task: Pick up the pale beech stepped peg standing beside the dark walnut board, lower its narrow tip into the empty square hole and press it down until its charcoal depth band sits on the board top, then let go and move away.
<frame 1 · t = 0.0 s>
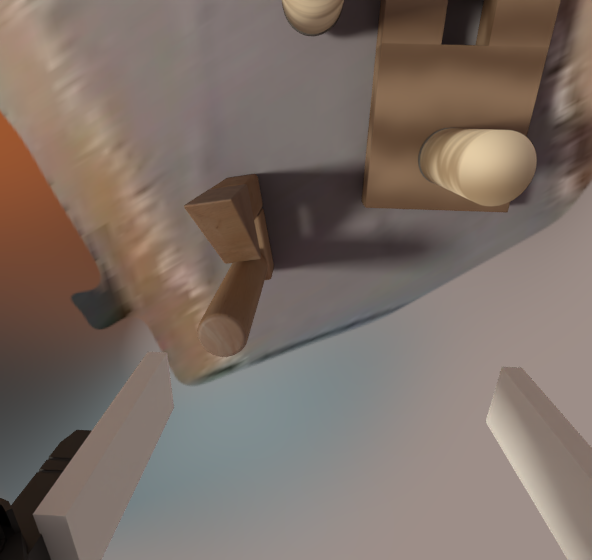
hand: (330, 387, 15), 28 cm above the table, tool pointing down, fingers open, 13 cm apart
walnut board: (446, 88, 35), on the table
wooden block: (250, 224, 41), on the table
beech peg: (312, 9, 33), on the table
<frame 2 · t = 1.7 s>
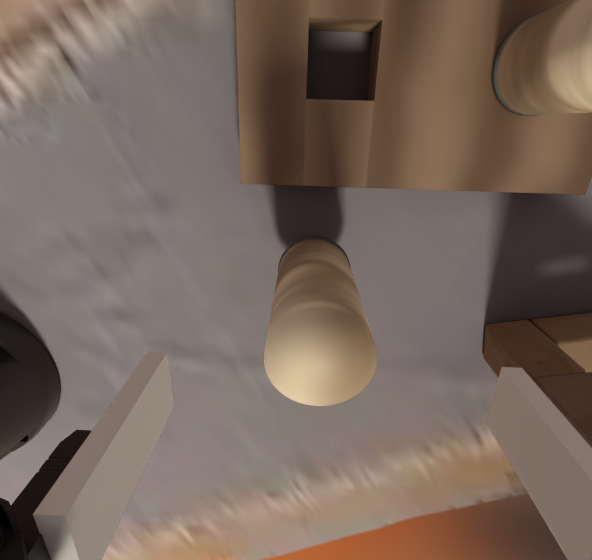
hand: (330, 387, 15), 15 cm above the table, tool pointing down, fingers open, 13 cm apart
walnut board: (416, 70, 24), on the table
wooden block: (547, 332, 31), on the table
beech peg: (313, 258, 29), on the table
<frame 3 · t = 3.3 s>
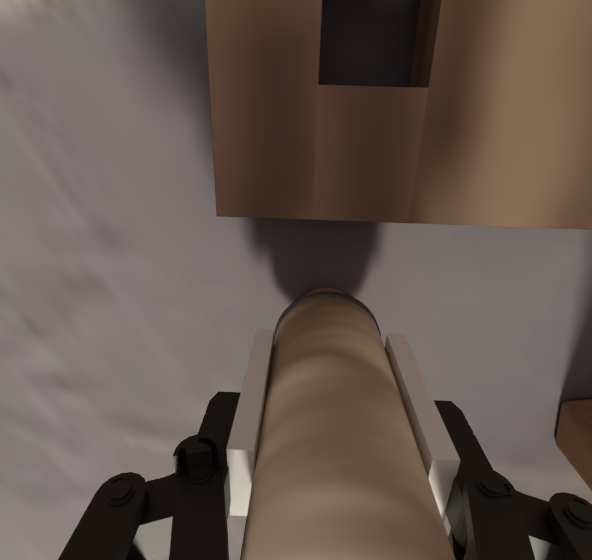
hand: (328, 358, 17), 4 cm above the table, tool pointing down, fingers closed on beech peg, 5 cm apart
walnut board: (487, 42, 15), on the table
beech peg: (324, 313, 21), on the table, touching gripper
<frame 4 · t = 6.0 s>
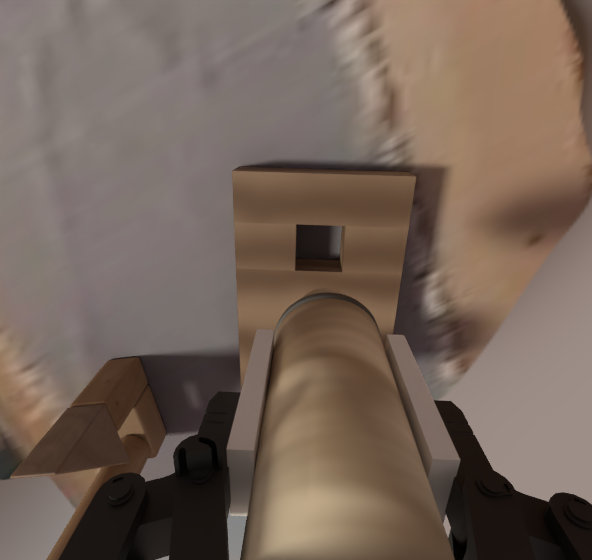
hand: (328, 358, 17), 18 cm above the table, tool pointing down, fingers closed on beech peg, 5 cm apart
walnut board: (316, 289, 35), on the table
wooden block: (139, 396, 41), on the table
beech peg: (324, 314, 21), point 14 cm above the table, touching gripper
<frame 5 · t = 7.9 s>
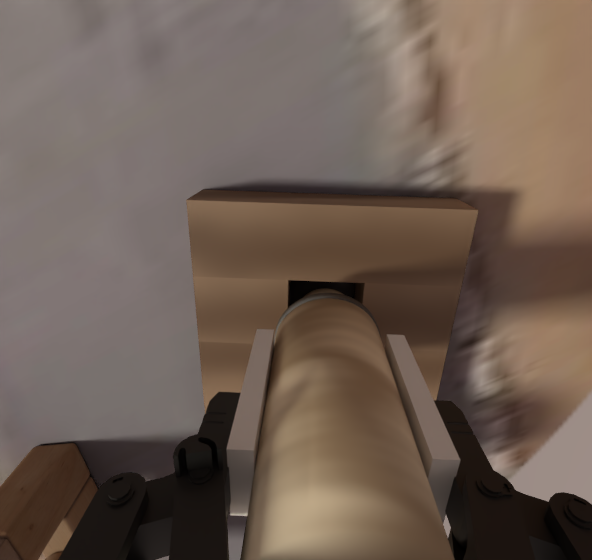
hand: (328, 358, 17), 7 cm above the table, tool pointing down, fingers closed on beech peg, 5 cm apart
walnut board: (318, 359, 25), on the table
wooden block: (81, 488, 31), on the table
beech peg: (324, 314, 21), point 3 cm above the table, touching gripper
when the fingers open (4 cm above the table, at t = 8.9 s): beech peg stays where it is, resting on walnut board.
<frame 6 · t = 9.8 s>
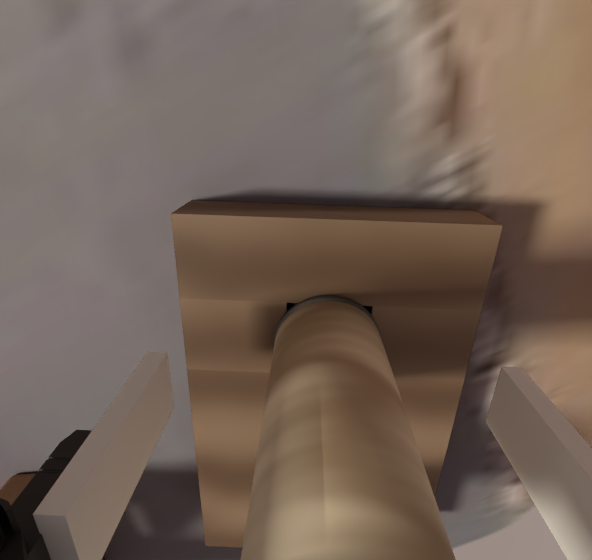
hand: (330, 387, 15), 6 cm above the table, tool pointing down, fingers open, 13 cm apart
walnut board: (319, 384, 23), on the table
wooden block: (64, 518, 29), on the table
beech peg: (325, 316, 20), resting on walnut board
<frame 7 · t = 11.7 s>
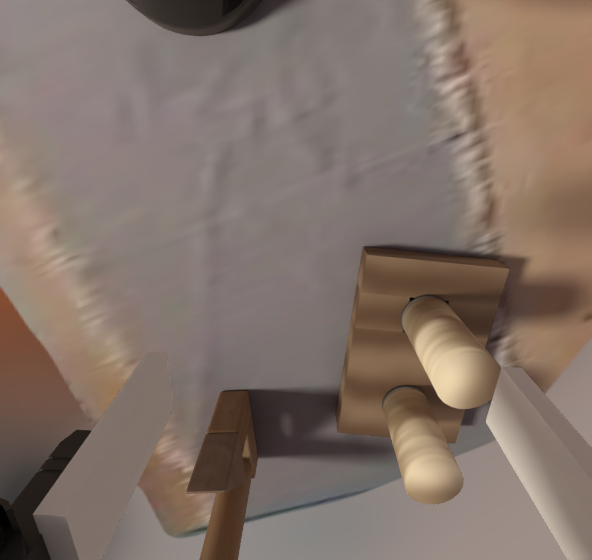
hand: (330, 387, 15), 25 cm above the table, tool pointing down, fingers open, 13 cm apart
walnut board: (408, 344, 43), on the table
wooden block: (240, 423, 48), on the table
beech peg: (418, 306, 41), resting on walnut board
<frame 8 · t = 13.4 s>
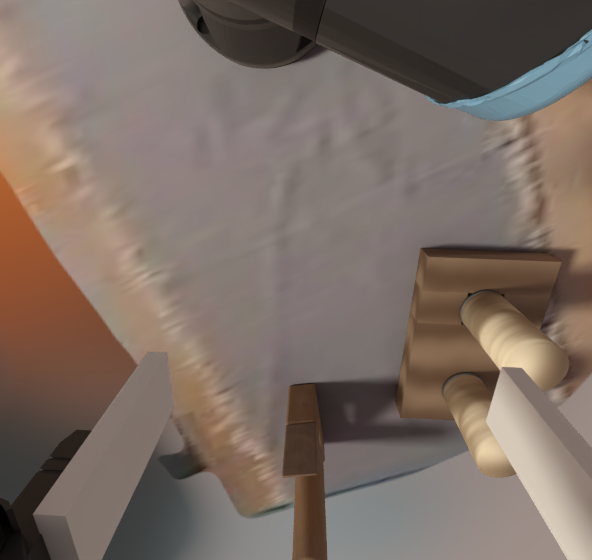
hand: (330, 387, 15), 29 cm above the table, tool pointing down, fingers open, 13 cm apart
walnut board: (463, 334, 46), on the table
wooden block: (306, 413, 52), on the table
beech peg: (473, 300, 44), resting on walnut board
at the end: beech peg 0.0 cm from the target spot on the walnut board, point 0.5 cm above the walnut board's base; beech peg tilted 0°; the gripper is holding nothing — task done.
